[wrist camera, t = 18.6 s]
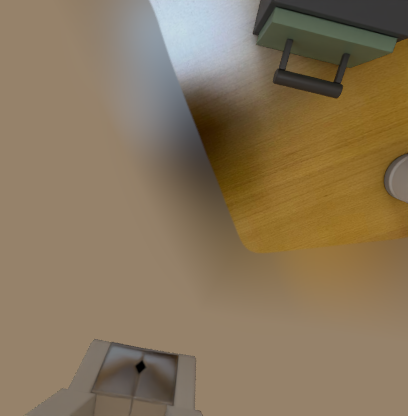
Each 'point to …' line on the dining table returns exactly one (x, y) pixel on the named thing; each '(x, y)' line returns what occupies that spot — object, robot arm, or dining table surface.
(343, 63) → the drawer
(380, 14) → the cabinet
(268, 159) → the dining table surface
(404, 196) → the travel mug
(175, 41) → the dining table surface
